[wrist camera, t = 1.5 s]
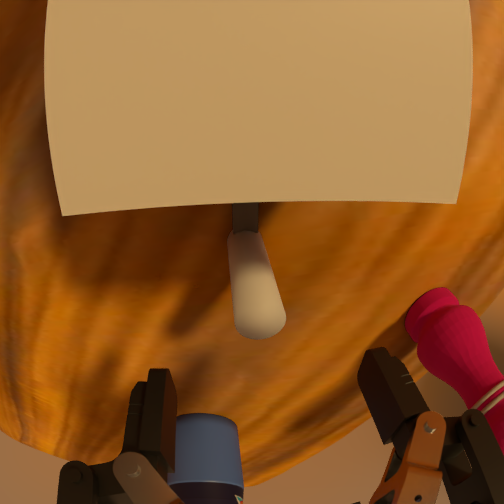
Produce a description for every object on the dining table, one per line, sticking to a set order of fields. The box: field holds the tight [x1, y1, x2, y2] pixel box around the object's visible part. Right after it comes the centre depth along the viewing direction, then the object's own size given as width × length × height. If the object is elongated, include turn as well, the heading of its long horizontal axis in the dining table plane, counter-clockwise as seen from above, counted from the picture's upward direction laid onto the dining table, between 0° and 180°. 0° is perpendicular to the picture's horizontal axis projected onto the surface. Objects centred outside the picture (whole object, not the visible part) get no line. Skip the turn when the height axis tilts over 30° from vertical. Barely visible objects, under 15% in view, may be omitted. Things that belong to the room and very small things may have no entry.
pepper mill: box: [405, 287, 504, 455], centre depth 18 cm, size 7×7×20 cm
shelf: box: [44, 0, 473, 216], centre depth 9 cm, size 12×12×11 cm
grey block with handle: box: [227, 202, 286, 339], centre depth 14 cm, size 18×6×8 cm, turn 0°
